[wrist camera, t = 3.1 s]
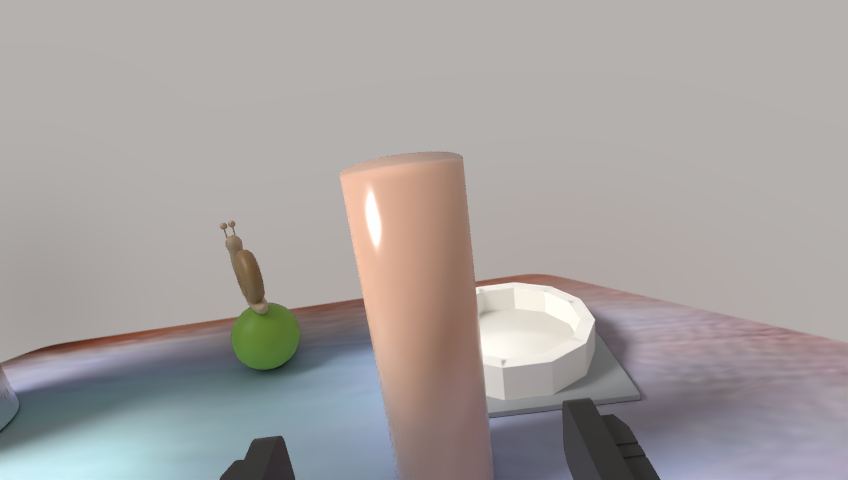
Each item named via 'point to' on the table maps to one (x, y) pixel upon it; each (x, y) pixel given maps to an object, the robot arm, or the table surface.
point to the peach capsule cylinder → (422, 311)
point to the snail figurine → (259, 315)
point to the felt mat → (577, 388)
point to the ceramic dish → (532, 339)
